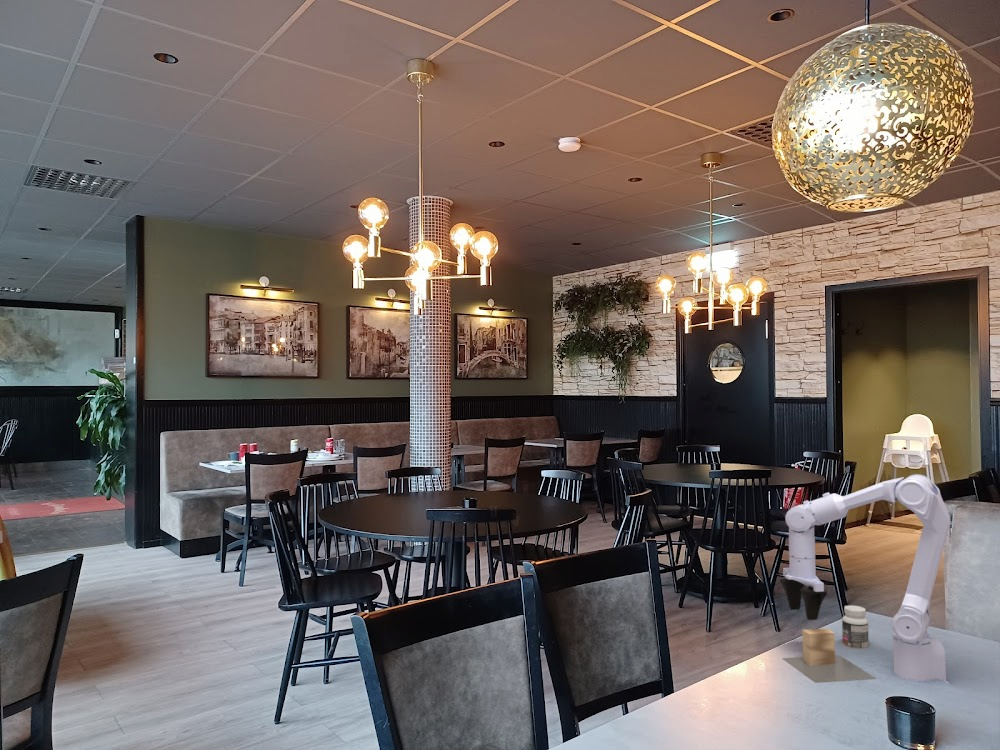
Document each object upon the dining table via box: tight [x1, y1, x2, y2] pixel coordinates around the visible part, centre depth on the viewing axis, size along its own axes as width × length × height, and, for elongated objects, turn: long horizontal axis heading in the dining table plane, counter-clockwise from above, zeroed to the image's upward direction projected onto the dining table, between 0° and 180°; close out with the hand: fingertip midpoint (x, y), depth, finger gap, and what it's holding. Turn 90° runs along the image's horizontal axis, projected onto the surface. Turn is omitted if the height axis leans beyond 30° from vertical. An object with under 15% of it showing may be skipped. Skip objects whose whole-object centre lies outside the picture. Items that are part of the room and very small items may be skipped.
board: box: [781, 654, 878, 684], centre depth 159 cm, size 14×14×1 cm
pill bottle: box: [841, 605, 870, 649], centre depth 174 cm, size 6×6×10 cm
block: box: [801, 628, 836, 665], centre depth 163 cm, size 6×3×7 cm, turn 96°
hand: (803, 614), depth 169 cm, fingers open, 7 cm apart
